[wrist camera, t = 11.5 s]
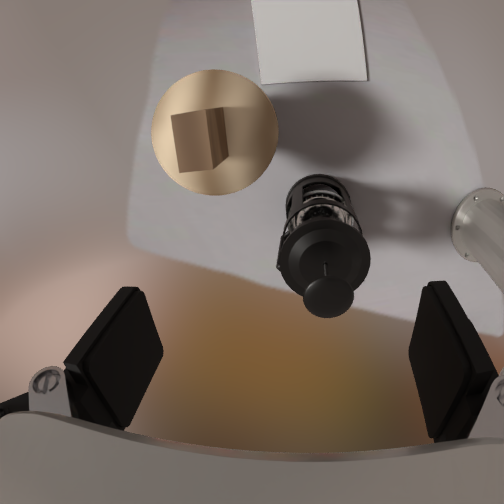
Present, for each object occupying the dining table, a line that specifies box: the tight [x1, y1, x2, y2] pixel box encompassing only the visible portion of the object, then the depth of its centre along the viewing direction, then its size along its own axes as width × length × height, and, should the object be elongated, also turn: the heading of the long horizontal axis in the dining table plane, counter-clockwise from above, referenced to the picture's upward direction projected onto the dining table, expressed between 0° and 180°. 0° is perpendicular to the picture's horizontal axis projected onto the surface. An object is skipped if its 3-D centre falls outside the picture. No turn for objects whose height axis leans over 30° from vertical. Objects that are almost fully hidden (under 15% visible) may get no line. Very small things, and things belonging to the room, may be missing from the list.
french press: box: [276, 174, 371, 318], centre depth 36 cm, size 12×9×23 cm
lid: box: [151, 70, 279, 195], centre depth 28 cm, size 13×13×7 cm
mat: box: [251, 0, 367, 85], centre depth 34 cm, size 14×14×1 cm
